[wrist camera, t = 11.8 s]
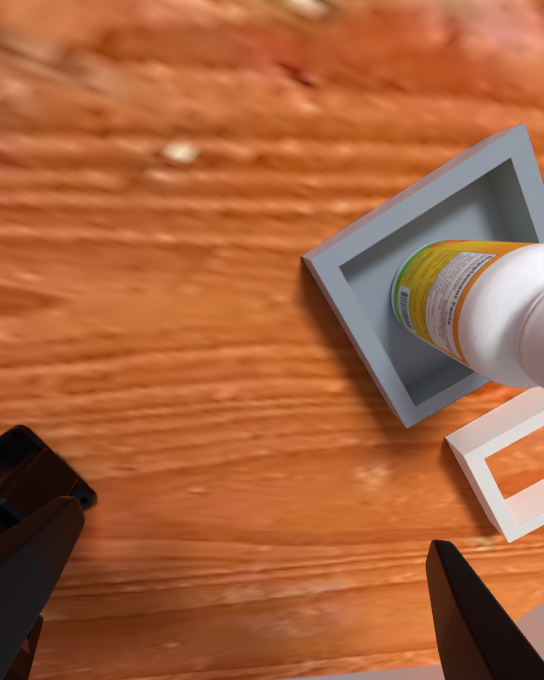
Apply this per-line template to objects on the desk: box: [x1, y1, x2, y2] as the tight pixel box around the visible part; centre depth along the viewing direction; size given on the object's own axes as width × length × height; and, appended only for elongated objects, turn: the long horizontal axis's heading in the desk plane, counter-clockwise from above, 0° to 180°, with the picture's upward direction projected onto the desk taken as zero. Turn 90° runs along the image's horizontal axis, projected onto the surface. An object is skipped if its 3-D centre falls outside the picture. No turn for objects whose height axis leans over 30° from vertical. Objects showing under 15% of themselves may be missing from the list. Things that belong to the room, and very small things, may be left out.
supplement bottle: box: [391, 240, 544, 389], centre depth 15 cm, size 5×5×10 cm
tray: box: [301, 123, 544, 429], centre depth 19 cm, size 11×11×2 cm
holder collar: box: [445, 387, 544, 543], centre depth 23 cm, size 9×9×2 cm
